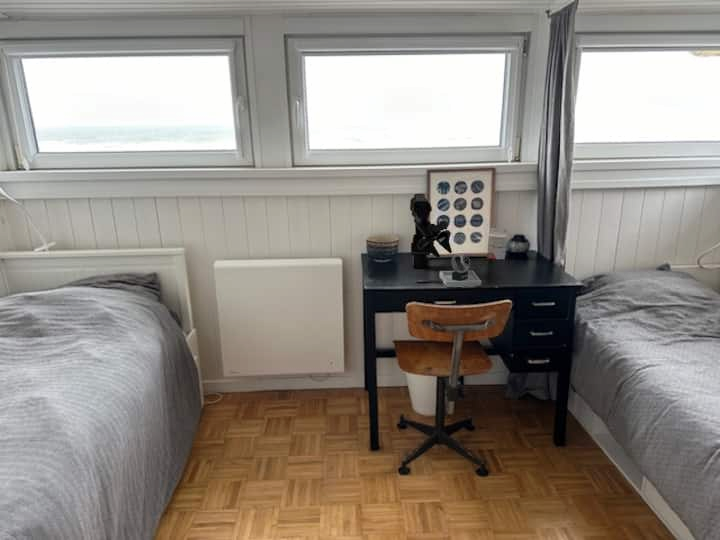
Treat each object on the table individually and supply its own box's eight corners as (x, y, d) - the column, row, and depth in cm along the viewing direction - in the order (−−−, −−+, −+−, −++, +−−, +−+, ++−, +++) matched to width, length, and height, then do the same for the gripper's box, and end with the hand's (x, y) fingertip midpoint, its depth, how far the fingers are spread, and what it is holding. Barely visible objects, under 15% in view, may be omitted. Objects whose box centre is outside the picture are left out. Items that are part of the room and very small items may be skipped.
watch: (464, 282, 205) (465, 257, 201) (448, 278, 210) (449, 253, 207) (471, 279, 209) (473, 254, 205) (455, 275, 214) (456, 251, 211)
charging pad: (418, 288, 202) (418, 282, 202) (413, 277, 216) (413, 271, 215) (481, 287, 203) (481, 281, 202) (472, 276, 217) (472, 270, 216)
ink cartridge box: (486, 258, 243) (488, 229, 238) (487, 256, 247) (489, 227, 243) (504, 260, 240) (506, 230, 236) (505, 257, 244) (507, 228, 240)
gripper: (423, 218, 204) (444, 248, 200) (448, 212, 217) (468, 240, 213) (408, 234, 211) (428, 263, 207) (433, 227, 224) (452, 254, 220)
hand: (445, 254), depth 212 cm, fingers open, 9 cm apart
